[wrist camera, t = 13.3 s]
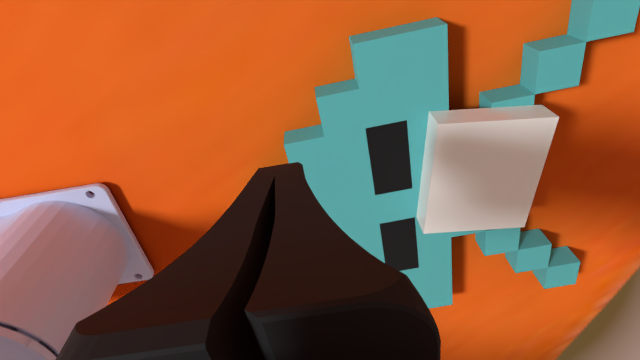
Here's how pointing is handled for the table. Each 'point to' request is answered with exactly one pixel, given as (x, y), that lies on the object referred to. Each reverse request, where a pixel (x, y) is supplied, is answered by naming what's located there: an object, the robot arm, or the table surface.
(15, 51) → the table surface
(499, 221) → the tile
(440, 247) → the alien figure
